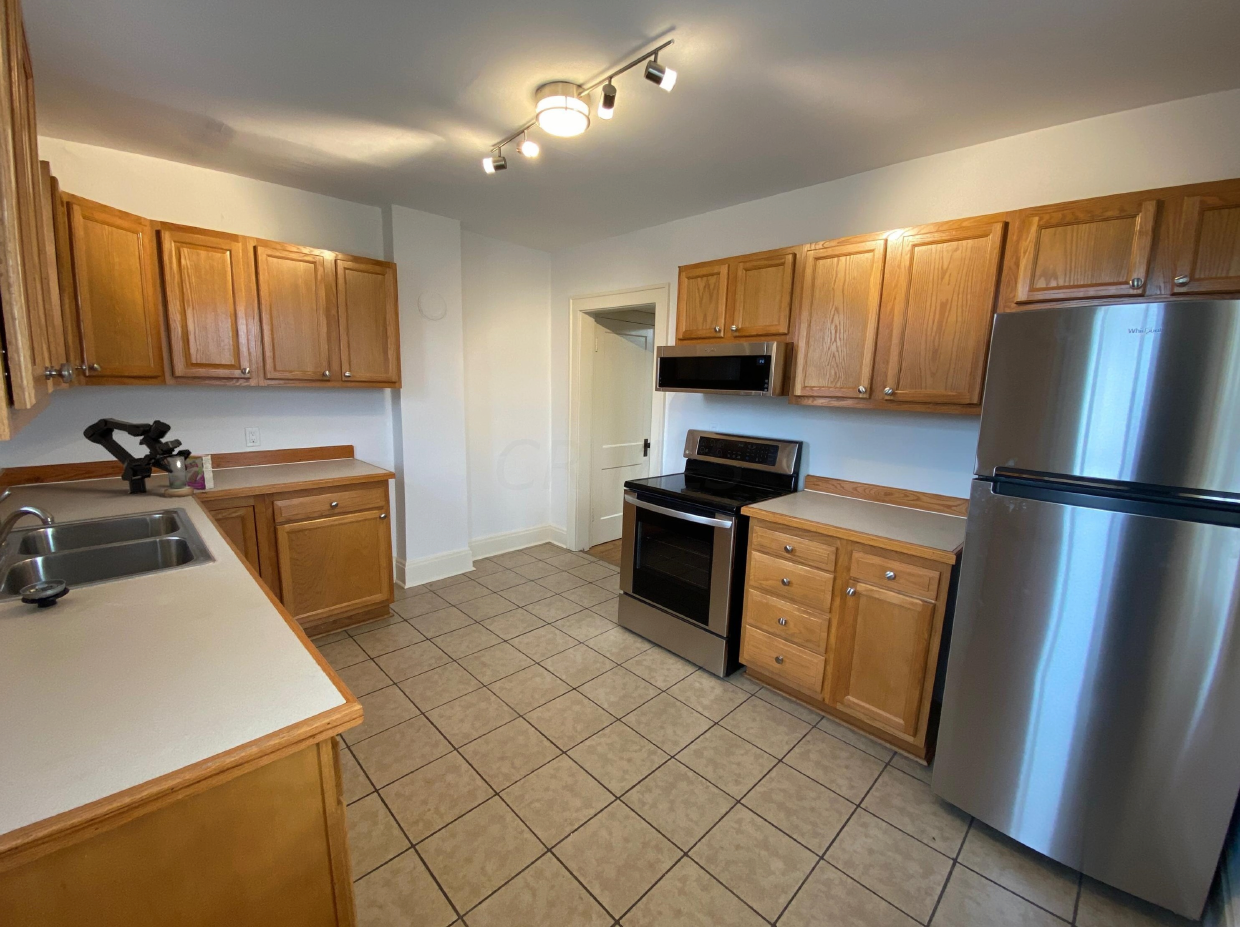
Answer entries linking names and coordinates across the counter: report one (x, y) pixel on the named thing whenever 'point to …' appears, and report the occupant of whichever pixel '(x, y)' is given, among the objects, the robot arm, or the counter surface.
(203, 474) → the candy bar box
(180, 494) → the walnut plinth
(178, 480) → the grey tin
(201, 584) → the counter surface
